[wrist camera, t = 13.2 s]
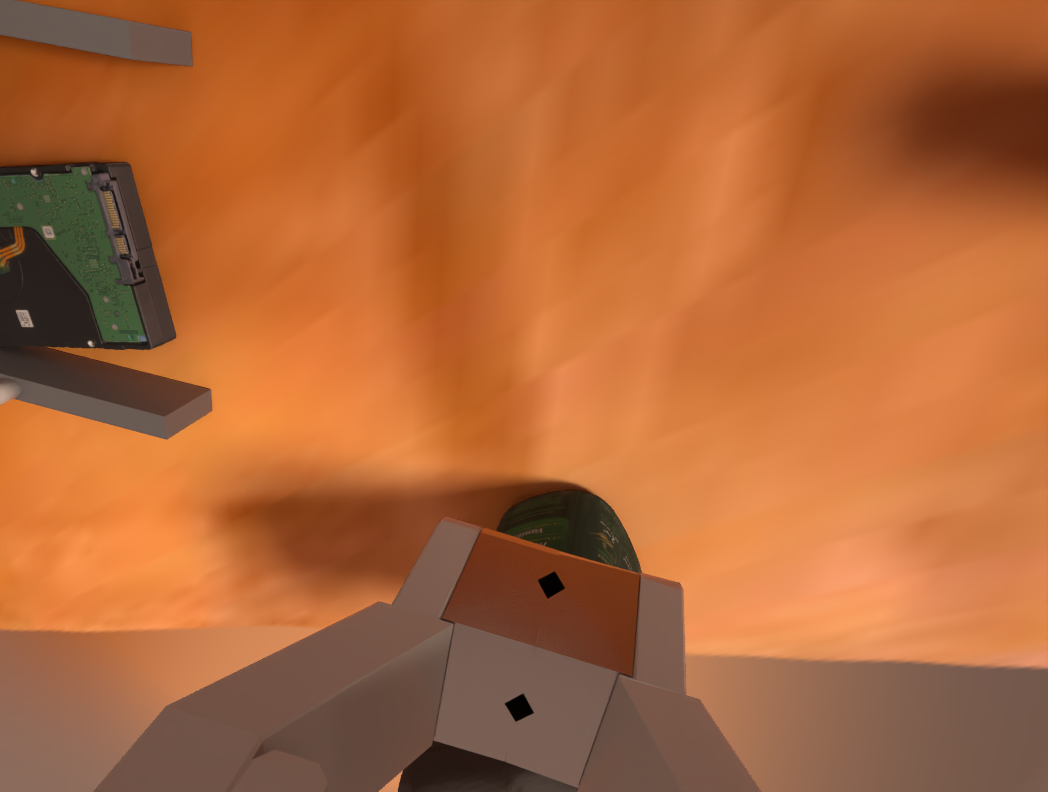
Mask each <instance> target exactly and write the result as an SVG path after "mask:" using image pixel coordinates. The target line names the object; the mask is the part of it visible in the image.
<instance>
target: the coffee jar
mask: <svg viewBox="0 0 1048 792" xmlns="http://www.w3.org/2000/svg"><path fill="white" fill-rule="evenodd" d="M497 532H501V533H504V534H507V535H510V536H514V537H517V538H520V539H523V540H526V541H530V542H533V543H536V544H539V545H542V546H546V547H549V548H552V549H555V550H559V551H561V552H564V553H568V554H571V555H575V556H578V557H582V558H586V559H589V560H593V561H596V562H600V563H603V564H607V565H610V566H614V567H618V568H621V569H625V570H628V571H632V572H635V573H638V574H639V573H642V571H641V568H640V564H639V561H638V558H637V555H636V553H635V551H634V548H633V546H632V543H631V541H630V539H629V537H628V534H627V532H626V530H625V529H624V527H623V525H622V523H621V521H620V520H619V518H618V516H617V515H616V514H615V512H614V510H613V509H612V508H611V506H609V505H608V504H607V503H606V502H605V501H604V500H603V499H601V498H600V497H598V496H596V495H593V494H591V493H588V492H584V491H578V490H565V491H556V492H552V493H547V494H542V495H539V496H535V497H532V498H529V499H527V500H524V501H522V502H520V503H518V504H516V505H514V506H513V507H511V508H510V509H509V510H508V511H507V512H506V513H505V514H504V516H503V517H502V519H501V521H500V524H499V526H498V529H497ZM506 758H507V757H506ZM577 791H578V788H576V787H574V786H571V785H568V784H565V783H563V782H560V781H557V780H554V779H552V778H549V777H546V776H543V775H540V774H538V773H535V772H532V771H529V770H527V769H524V768H521V767H518V766H515V765H513V764H510V763H507V762H506V760H505V762H504V761H501V760H498V759H494V758H491V757H488V756H484V755H481V754H477V753H474V752H471V751H467V750H464V749H461V748H457V747H454V746H451V745H447V744H444V743H440V742H437V741H434V740H433V742H432V746H430V747H429V748H428V749H427V750H426V751H425V752H424V753H422V754H421V755H420V756H419V757H418V758H417V759H415V760H414V761H413V762H412V763H411V764H410V765H408V766H407V767H406V768H405V769H404V770H403V772H402V775H401V780H400V783H399V788H398V792H577Z"/></svg>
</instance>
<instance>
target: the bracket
mask: <svg viewBox="0 0 1048 792" xmlns="http://www.w3.org/2000/svg"><path fill="white" fill-rule="evenodd" d="M0 35H5V36H10V37H15V38H20V39H26V40H31V41H36V42H42V43H47V44H52V45H57V46H63V47H68V48H73V49H79V50H84V51H89V52H94V53H100V54H105V55H110V56H116V57H121V58H126V59H131V60H140V61H149V62H158V63H167V64H176V65H185V66H193V63H192V45H191V32H187V31H182V30H176V29H171V28H165V27H160V26H154V25H149V24H143V23H138V22H132V21H127V20H121V19H116V18H110V17H105V16H99V15H94V14H88V13H83V12H77V11H72V10H66V9H61V8H55V7H50V6H44V5H39V4H33V3H28V2H22V1H17V0H0ZM13 399H17V400H20V401H24V402H28V403H32V404H35V405H39V406H43V407H47V408H50V409H54V410H58V411H62V412H65V413H69V414H73V415H77V416H80V417H84V418H88V419H92V420H95V421H99V422H103V423H107V424H110V425H114V426H118V427H122V428H125V429H129V430H133V431H137V432H140V433H144V434H148V435H152V436H155V437H159V438H163V439H169V438H170V437H172V436H173V435H175V434H176V433H178V432H180V431H181V430H183V429H184V428H186V427H187V426H189V425H191V424H192V423H194V422H195V421H197V420H198V419H200V418H201V417H203V416H205V415H206V414H208V413H209V412H211V411H212V400H211V389H207V388H203V387H199V386H195V385H191V384H188V383H184V382H180V381H176V380H172V379H168V378H164V377H160V376H156V375H152V374H148V373H144V372H140V371H136V370H132V369H128V368H125V367H121V366H117V365H113V364H109V363H105V362H101V361H97V360H93V359H89V358H85V357H81V356H77V355H73V354H69V353H65V352H62V351H58V350H54V349H50V348H46V347H42V346H41V347H37V346H0V405H1V404H3V403H5V402H8V401H10V400H13Z"/></svg>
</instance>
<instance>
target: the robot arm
mask: <svg viewBox="0 0 1048 792" xmlns="http://www.w3.org/2000/svg"><path fill="white" fill-rule="evenodd" d="M433 740H434V741H437V742H440V743H444V744H447V745H451V746H454V747H457V748H461V749H464V750H467V751H471V752H474V753H477V754H481V755H484V756H488V757H491V758H494V759H498V760H501V761H504V762H505V760H506V762H507V763H510V764H513V765H515V766H518V767H521V768H524V769H527V770H529V771H532V772H535V773H538V774H540V775H543V776H546V777H549V778H552V779H554V780H557V781H560V782H563V783H565V784H568V785H571V786H574V787H576V788H578V791H577V792H761V790H760V789H759V787H758V786H757V784H756V783H755V781H754V780H753V778H752V777H751V775H750V774H749V772H748V771H747V769H746V768H745V766H744V765H743V763H742V762H741V760H740V759H739V757H738V756H737V754H736V753H735V751H734V750H733V748H732V747H731V745H730V744H729V742H728V741H727V739H726V738H725V736H724V735H723V733H722V732H721V730H720V729H719V727H718V726H717V724H716V723H715V721H714V720H713V718H712V717H711V715H710V714H709V712H708V711H707V709H706V708H705V706H704V705H703V703H702V702H701V700H699V699H697V698H694V697H690V696H687V695H686V664H685V629H684V594H683V588H682V586H681V584H680V583H678V582H674V581H670V580H667V579H663V578H659V577H655V576H651V575H647V574H644V573H639V574H638V573H635V572H632V571H628V570H625V569H621V568H618V567H614V566H610V565H607V564H603V563H600V562H596V561H593V560H589V559H586V558H582V557H578V556H575V555H571V554H568V553H564V552H561V551H559V550H555V549H552V548H549V547H546V546H542V545H539V544H536V543H533V542H530V541H526V540H523V539H520V538H517V537H514V536H510V535H507V534H504V533H501V532H497V531H494V530H491V529H488V528H485V527H484V528H482V527H480V526H477V525H473V524H470V523H467V522H463V521H460V520H457V519H453V518H450V517H447V516H445V517H444V518H443V519H442V520H441V521H439V522H438V524H437V526H436V527H435V529H434V531H433V533H432V534H431V536H430V538H429V540H428V542H427V543H426V545H425V547H424V549H423V550H422V552H421V554H420V556H419V557H418V559H417V561H416V563H415V564H414V566H413V568H412V570H411V571H410V573H409V575H408V577H407V579H406V580H405V582H404V584H403V586H402V587H401V589H400V591H399V593H398V594H397V596H396V598H395V600H394V601H393V603H392V605H390V604H387V603H383V602H380V601H379V602H377V603H375V604H373V605H371V606H369V607H367V608H365V609H363V610H361V611H359V612H357V613H355V614H353V615H351V616H349V617H347V618H344V619H342V620H340V621H338V622H336V623H334V624H332V625H330V626H328V627H326V628H324V629H322V630H320V631H318V632H316V633H314V634H312V635H310V636H308V637H306V638H304V639H302V640H300V641H298V642H296V643H294V644H292V645H290V646H288V647H286V648H284V649H282V650H280V651H277V652H275V653H273V654H271V655H269V656H267V657H266V658H263V659H261V660H259V661H257V662H255V663H253V664H251V665H249V666H247V667H245V668H243V669H241V670H239V671H237V672H235V673H233V674H231V675H229V676H227V677H224V678H222V679H221V680H219V681H216V682H214V683H212V684H210V685H208V686H206V687H204V688H202V689H200V690H198V691H196V692H194V693H192V694H190V695H188V696H186V697H184V698H182V699H180V700H178V701H176V702H174V703H172V704H170V705H168V706H166V707H165V708H164V709H163V711H162V712H161V713H160V714H159V715H158V716H157V718H156V719H155V720H154V721H153V722H152V723H151V724H150V726H149V727H148V728H147V729H146V730H145V732H144V733H143V734H142V735H141V736H140V737H139V738H138V740H137V741H136V742H135V743H134V745H133V746H132V747H131V748H130V749H129V750H128V752H127V753H126V754H125V755H124V756H123V757H122V758H121V760H120V761H119V762H118V763H117V764H116V765H115V767H114V768H113V769H112V770H111V771H110V772H109V774H108V775H107V776H106V777H105V778H104V780H103V781H102V782H101V783H100V784H99V785H98V787H97V788H96V789H95V790H94V791H93V792H378V791H379V790H380V789H382V788H383V787H384V786H385V785H386V784H387V783H389V782H390V781H391V780H392V779H393V778H394V777H396V776H397V775H398V774H399V773H400V772H401V771H403V770H404V769H405V768H406V767H407V766H408V765H410V764H411V763H412V762H413V761H414V760H415V759H417V758H418V757H419V756H420V755H421V754H422V753H424V752H425V751H426V750H427V749H428V748H429V747H430V746H432V742H433ZM506 757H507V758H506Z"/></svg>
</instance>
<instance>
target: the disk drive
mask: <svg viewBox="0 0 1048 792" xmlns="http://www.w3.org/2000/svg"><path fill="white" fill-rule="evenodd" d="M175 338H176V332H175V329H174V325H173V322H172V318H171V314H170V310H169V307H168V303H167V299H166V295H165V292H164V288H163V284H162V280H161V276H160V273H159V269H158V266H157V263H156V260H155V256H154V252H153V249H152V243H151V240H150V236H149V232H148V228H147V225H146V221H145V217H144V214H143V210H142V206H141V203H140V199H139V195H138V192H137V188H136V184H135V180H134V177H133V173H132V169H131V166H130V164H129V163H127V162H121V163H98V162H94V163H75V164H73V163H72V164H59V165H37V166H17V167H0V346H37V347H41V346H45V347H48V346H49V347H70V348H104V349H115V350H118V349H119V350H125V349H138V350H144V349H146V350H150V349H153V348H156V347H158V346H161V345H163V344H165V343H167V342H169V341H171V340H173V339H175Z"/></svg>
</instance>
